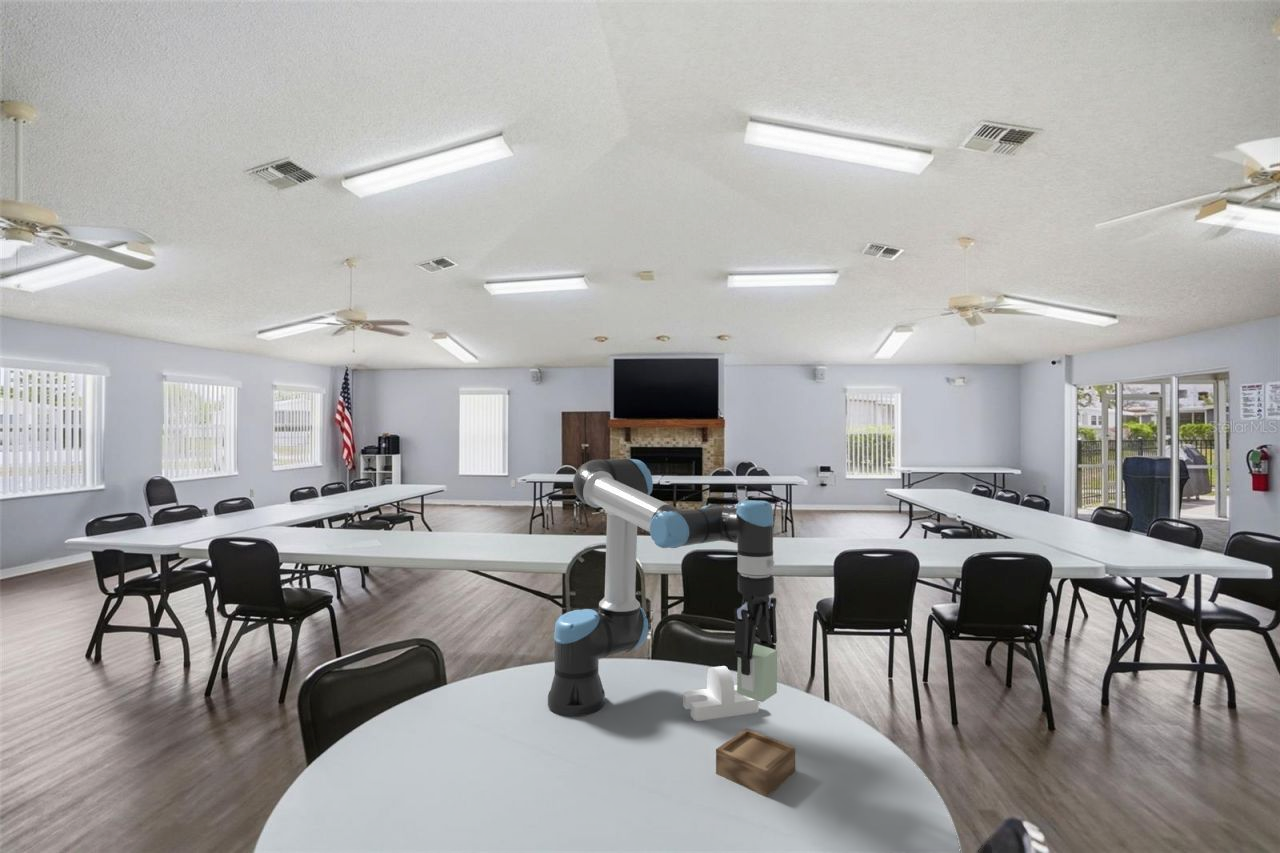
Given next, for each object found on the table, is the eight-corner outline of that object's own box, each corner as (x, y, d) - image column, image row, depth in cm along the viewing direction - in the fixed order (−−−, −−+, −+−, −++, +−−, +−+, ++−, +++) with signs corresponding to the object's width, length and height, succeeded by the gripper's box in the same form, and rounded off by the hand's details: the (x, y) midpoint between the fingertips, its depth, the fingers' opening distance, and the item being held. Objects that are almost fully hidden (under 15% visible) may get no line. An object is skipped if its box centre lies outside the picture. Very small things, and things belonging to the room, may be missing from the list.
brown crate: (716, 773, 122) (716, 749, 122) (746, 750, 131) (746, 728, 131) (766, 796, 114) (766, 771, 114) (795, 771, 123) (795, 747, 123)
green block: (737, 693, 122) (737, 650, 122) (752, 684, 126) (752, 642, 127) (762, 702, 118) (762, 657, 118) (776, 692, 122) (777, 650, 123)
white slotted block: (681, 705, 153) (681, 664, 154) (743, 697, 158) (743, 657, 159) (695, 722, 144) (695, 678, 144) (760, 713, 149) (760, 670, 149)
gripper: (747, 585, 113) (748, 704, 113) (792, 569, 128) (794, 675, 127) (715, 579, 118) (716, 693, 118) (762, 564, 133) (763, 666, 132)
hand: (756, 684), depth 122 cm, fingers closed on green block, 6 cm apart
